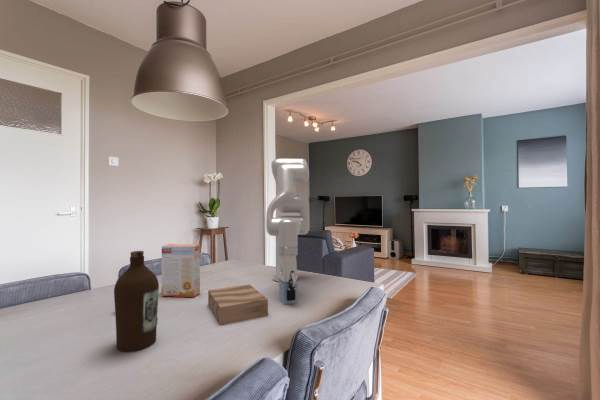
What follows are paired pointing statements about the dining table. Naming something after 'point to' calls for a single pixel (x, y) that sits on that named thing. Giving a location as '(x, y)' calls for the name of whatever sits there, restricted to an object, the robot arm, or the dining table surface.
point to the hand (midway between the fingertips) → (288, 296)
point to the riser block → (237, 304)
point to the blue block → (283, 293)
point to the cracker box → (181, 270)
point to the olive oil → (136, 306)
